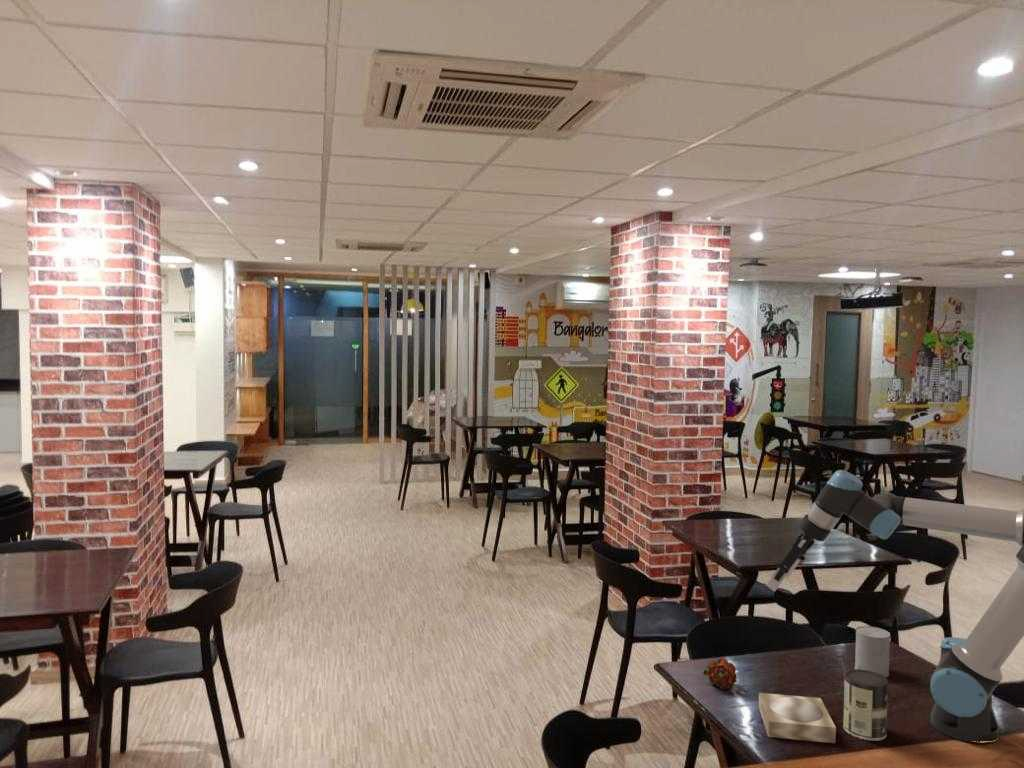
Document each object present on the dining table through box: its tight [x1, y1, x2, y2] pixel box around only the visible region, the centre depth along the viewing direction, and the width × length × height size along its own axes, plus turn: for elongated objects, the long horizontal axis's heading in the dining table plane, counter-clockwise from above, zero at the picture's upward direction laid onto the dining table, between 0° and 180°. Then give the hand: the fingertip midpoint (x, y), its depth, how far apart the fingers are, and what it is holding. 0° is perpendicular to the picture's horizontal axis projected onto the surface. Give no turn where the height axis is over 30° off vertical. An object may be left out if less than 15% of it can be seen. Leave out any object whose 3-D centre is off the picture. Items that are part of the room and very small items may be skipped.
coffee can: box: [842, 668, 889, 742], centre depth 190 cm, size 10×10×14 cm
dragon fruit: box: [702, 657, 738, 690], centre depth 215 cm, size 8×8×12 cm
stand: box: [758, 692, 837, 744], centre depth 193 cm, size 16×16×4 cm
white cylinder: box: [854, 625, 891, 678], centre depth 226 cm, size 10×10×12 cm
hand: (777, 581), depth 206 cm, fingers open, 13 cm apart
